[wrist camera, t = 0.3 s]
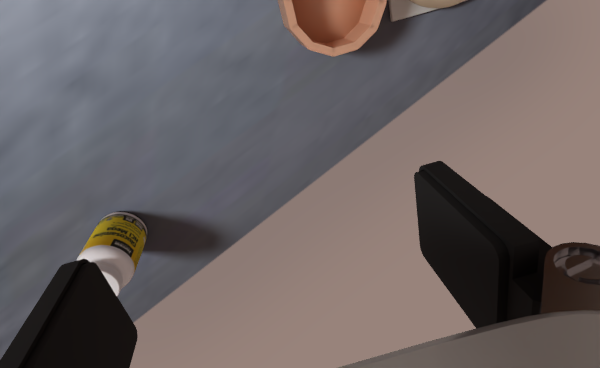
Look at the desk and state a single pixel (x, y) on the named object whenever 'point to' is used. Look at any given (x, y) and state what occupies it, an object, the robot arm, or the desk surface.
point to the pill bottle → (116, 247)
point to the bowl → (332, 23)
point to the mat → (406, 9)
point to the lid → (436, 3)
